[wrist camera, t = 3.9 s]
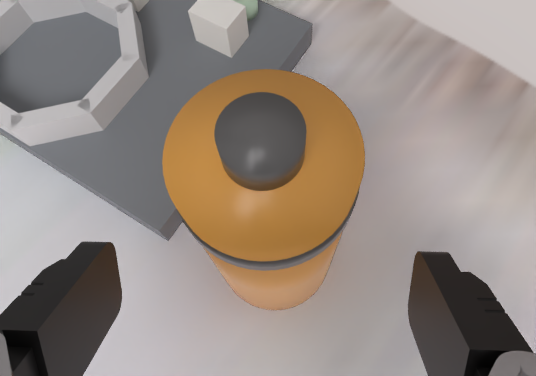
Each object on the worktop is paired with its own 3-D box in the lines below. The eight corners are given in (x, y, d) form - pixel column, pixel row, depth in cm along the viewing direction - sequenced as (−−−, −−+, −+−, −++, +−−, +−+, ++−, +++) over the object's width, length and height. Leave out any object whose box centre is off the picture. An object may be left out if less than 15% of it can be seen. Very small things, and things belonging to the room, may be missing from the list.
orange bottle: (198, 272, 20) (101, 165, 9) (258, 185, 21) (229, 11, 11) (293, 334, 18) (300, 287, 8) (349, 237, 20) (413, 96, 10)
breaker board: (-102, 69, 25) (-160, 23, 21) (56, -73, 29) (26, -130, 25) (168, 240, 20) (145, 215, 17) (310, 43, 24) (314, -8, 21)
